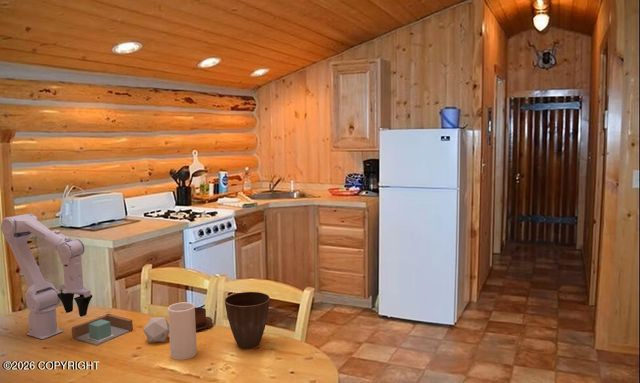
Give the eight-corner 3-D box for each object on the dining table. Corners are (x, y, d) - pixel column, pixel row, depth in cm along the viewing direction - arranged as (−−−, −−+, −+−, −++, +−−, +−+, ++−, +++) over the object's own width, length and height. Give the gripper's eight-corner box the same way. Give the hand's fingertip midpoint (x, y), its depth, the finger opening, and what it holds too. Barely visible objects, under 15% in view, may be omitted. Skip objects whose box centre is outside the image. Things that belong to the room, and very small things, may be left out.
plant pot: (235, 334, 182) (234, 290, 180) (276, 337, 179) (275, 292, 177) (219, 352, 168) (217, 304, 166) (263, 355, 165) (261, 307, 163)
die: (156, 349, 172) (172, 323, 174) (134, 335, 173) (151, 310, 175) (163, 348, 180) (178, 323, 182) (142, 335, 181) (158, 310, 183)
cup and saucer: (176, 324, 193) (176, 308, 192) (208, 318, 198) (208, 303, 197) (182, 335, 182) (181, 318, 181) (216, 329, 187) (215, 313, 186)
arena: (72, 338, 181) (71, 327, 180) (109, 323, 194) (108, 313, 193) (96, 345, 174) (96, 334, 174) (132, 330, 187) (132, 319, 187)
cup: (201, 350, 169) (199, 303, 167) (187, 361, 162) (185, 312, 160) (180, 347, 172) (177, 301, 170) (165, 357, 164) (162, 309, 162)
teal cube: (89, 337, 180) (88, 323, 179) (101, 332, 184) (101, 319, 183) (98, 340, 177) (97, 326, 177) (111, 335, 182) (110, 321, 181)
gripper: (49, 275, 177) (52, 314, 178) (76, 281, 169) (79, 321, 171) (68, 270, 183) (71, 307, 184) (94, 276, 176) (97, 314, 177)
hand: (76, 313), depth 178 cm, fingers open, 7 cm apart
